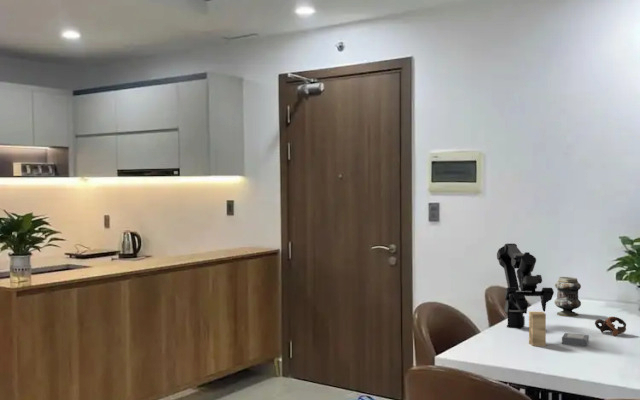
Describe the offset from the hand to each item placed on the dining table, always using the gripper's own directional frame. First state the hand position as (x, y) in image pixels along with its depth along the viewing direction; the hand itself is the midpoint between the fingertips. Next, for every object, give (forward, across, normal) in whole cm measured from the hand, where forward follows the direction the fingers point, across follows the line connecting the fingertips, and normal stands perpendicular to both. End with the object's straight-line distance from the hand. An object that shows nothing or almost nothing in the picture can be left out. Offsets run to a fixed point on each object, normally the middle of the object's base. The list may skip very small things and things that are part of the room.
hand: (532, 311), depth 262 cm
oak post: (+13, 0, +4) cm, 13 cm away
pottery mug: (-1, +36, +18) cm, 40 cm away
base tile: (+10, +16, +7) cm, 20 cm away
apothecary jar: (-31, +32, +48) cm, 66 cm away
